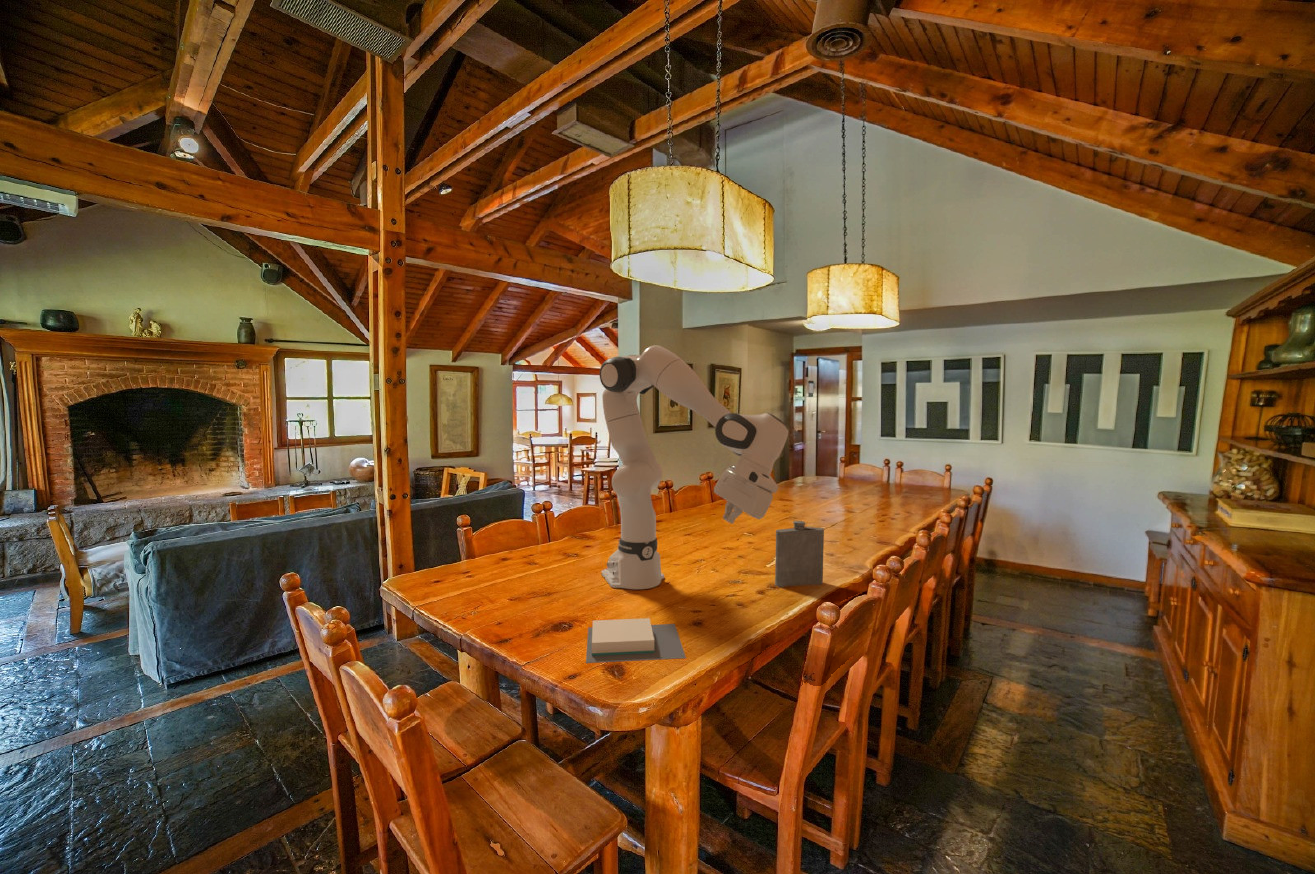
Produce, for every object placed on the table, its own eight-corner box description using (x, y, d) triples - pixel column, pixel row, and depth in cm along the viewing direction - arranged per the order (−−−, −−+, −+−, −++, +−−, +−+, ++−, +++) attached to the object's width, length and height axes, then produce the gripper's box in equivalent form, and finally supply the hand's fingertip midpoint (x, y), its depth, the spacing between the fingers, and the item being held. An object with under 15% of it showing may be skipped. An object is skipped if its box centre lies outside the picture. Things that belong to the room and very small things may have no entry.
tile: (649, 618, 128) (592, 620, 127) (654, 640, 116) (591, 642, 115) (649, 630, 128) (592, 632, 127) (654, 653, 116) (591, 656, 115)
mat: (674, 625, 132) (674, 623, 132) (685, 659, 114) (686, 658, 114) (588, 629, 130) (588, 627, 130) (585, 664, 112) (585, 663, 112)
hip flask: (777, 587, 160) (778, 524, 158) (772, 583, 164) (773, 521, 162) (824, 584, 163) (826, 522, 162) (818, 580, 167) (819, 519, 166)
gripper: (722, 459, 142) (699, 504, 143) (764, 480, 124) (738, 531, 124) (739, 467, 145) (717, 511, 145) (782, 489, 127) (757, 539, 127)
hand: (727, 521), depth 135 cm, fingers closed
